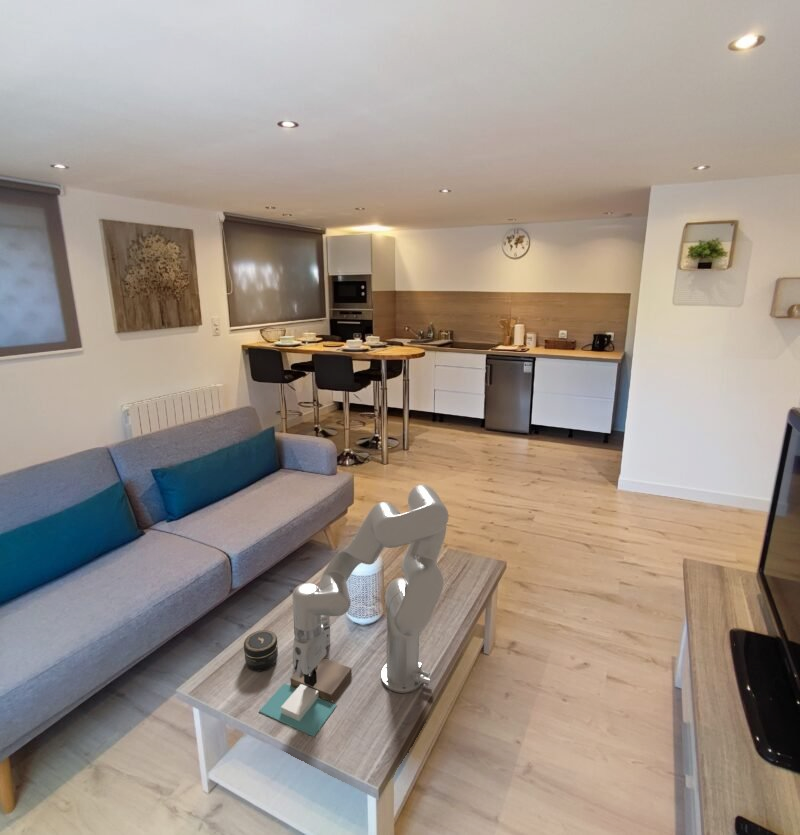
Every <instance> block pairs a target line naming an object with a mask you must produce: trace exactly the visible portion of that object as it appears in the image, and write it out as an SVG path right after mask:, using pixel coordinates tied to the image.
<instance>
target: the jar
mask: <svg viewBox="0 0 800 835" xmlns="http://www.w3.org/2000/svg"><path fill="white" fill-rule="evenodd" d="M278 644H279V643H278V637H277V635H276V634H275V632H273V631H271V630H269V629H268V630H266V629H262V630H257V631H255V632H254V631H253V632H252V633H250V634H248V636H247V637H246V638H245V639H244V642H243V653H244V660H245V664H246V666H247V667H248V669H249V670H252V671H254V672H262V671H263V672H264V671H266V670H268V669H271V668H272V667H273V666H275V664H276V662H277V660H278V655H279V654H278V653H279V651H278Z"/></svg>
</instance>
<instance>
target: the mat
mask: <svg viewBox="0 0 800 835" xmlns="http://www.w3.org/2000/svg"><path fill="white" fill-rule="evenodd" d="M296 689H297V688H296V687H294V686H291V685H289V684H286V683H282V685H281V686H280V687H279V688H278V690H276V692H274V693H273V695H272V696H271V697H270V698H269V700H267V701H266V703H265V704H263V706H262V707H261V708H260V709H259V710H258V712H259V713H261V714H263V715H265V716H268V717H270V718H272V719H274V720H276V721H278V722H280V723H282V724H285V725H286V726H289V727H292V728H293V729H296V730H298V731H300V732H302V733H304V734H307V735H309V736H311V737H312V738H315V736H316V735H317V734H318V732H319V731H320V729H322V727H323V726H324V724H325V722H326V721H327V720H328V718H329V717H330V716H331V714H333V712H334V710H335V709H336V708H337V704H334V703H332V702H330V701H327V700H325V699H323V698H320V697H318V698H317V700H316V701H315V702H314V703H313V705H312V706H311V707H310V708H309V710H308V711H307V712H306V713H305V715H304V716H303V717H302V718H301V720H300V721H297V720H295V719H293V718H291V717H289V716H286V715H284V714H282V713H281V706H282V705H283V704H284V703H285V702H286V701H287V699H288V698H289V697H290V696H291V695H292V694H293V692H294V691H295V690H296Z"/></svg>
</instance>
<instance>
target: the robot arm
mask: <svg viewBox="0 0 800 835" xmlns="http://www.w3.org/2000/svg"><path fill="white" fill-rule="evenodd" d="M407 504H408V508H409V511H407V512H402V513H401V512H400V511H399V509H398V508H397V507H396V506H395V505H393V504H392V503H390V502H388V501H380V502H378V503H376V504H375V505H374V506H373V507H372V508H371V509H370V511H369V512H368V514H367V516H366V517H365V519H364V521H363V522H362V523H361V525H360V526H359V528H358V530H357V532H356V533H355V535H353V538H352V540H351V541H350V542H349V544H348V545H347V546H345V547H343V548H342V549H341V550H340V551H338V552H337V553H336V554H335V555H334V556H333V557H332V559H331V560H330V562H329V563H328V564H327V567H326V568H325V570H324V571H323V573H322V575H321V577H320V581H319V586H318V585H317V584H315V583H313V582H304V583H300V584H299V585H297V586H295V587H294V589H293V592H292V612H293V613H292V614H293V631H294V632H293V633H294V638H293V646H292V664H293V669H294V671H297V674H296V677H298V678H302V677H303V676H304V683H305V684H307V685H310V686H312V687H313V686H314V685H315V684H316V683H317V676H316V670H317V668H318V664H319V662H320V661H321V660H322V659H323V658H325V656H326V654H327V646H326V638H325V632H324V628H323V625H322V618H321V615H323V616H330V617H342V616H343V615H345V614H347V612H348V611H349V610H350V607H351V598H350V593H349V589H348V585H347V582H348V579H349V578H350V576H351V575H352V573H353V572H354V570H355V569H356V568H357V567H358V566H359V565H360V564H364V565H368V566H370V565H373V564H375V563H376V562H377V560H378V558H379V557H380V555H381V553H382V552H383V550H384V548H386V549H395V548H398V547H402V546H406V545H408V547H407V550H406V552H405V554H404V557H403V560H402V562H401V572H402V574H403V577H398V578H394V579H393V580H391V582H390V583H388V585H387V587H386V590H385V594H384V604H385V617H386V664H385V665H384V666H383V668H382V670H381V675H380V676H381V677H380V678H381V682H382V683H383V685H384V686H385V688H387V689H388V690H390V691H393V692H395V693H401V694H405V693H406V694H407V693H411V692H413V691H415V690H417V689H418V688H419V687H420V686H422V685H425V686H429V687H430V685H431V682H432V678H430V675H431V672H430V671H426V670H424V668H423V666H422V665H423V663H422V662H420V660H419V659H420V657H419V656H420V655H419V654H420V634H421V632H422V631H423V630H425V628H426V627H427V625H428V623H429V621H431V618H432V615H433V613H434V611H435V609H436V607H437V604H438V602H439V600H440V597H441V596H442V592H443V590H444V575H443V573H442V571H441V569H440V567H439V566H438V557H439V556H440V554H441V550H442V547H443V544H444V541H445V539H446V534H447V525H448V521H449V517H450V516H449V511H448V509H447V507H446V505H445V503H443V502H442V499H440V497H439V495H438V494H437V492H436V491H435V490H434V488H432V487H430V486H428V485H426V484H417V485H416V486H414V487H413V488H412V489H411V490H410V492H409V494H408V497H407Z"/></svg>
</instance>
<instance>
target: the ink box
mask: <svg viewBox="0 0 800 835" xmlns="http://www.w3.org/2000/svg"><path fill="white" fill-rule="evenodd" d="M321 618H322V625H323V628H324V632H325V638H326V647H328V646H330V645H331V625H330V624H331V623H330V620H331V619H330V618H331V616H323V615H321Z"/></svg>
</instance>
